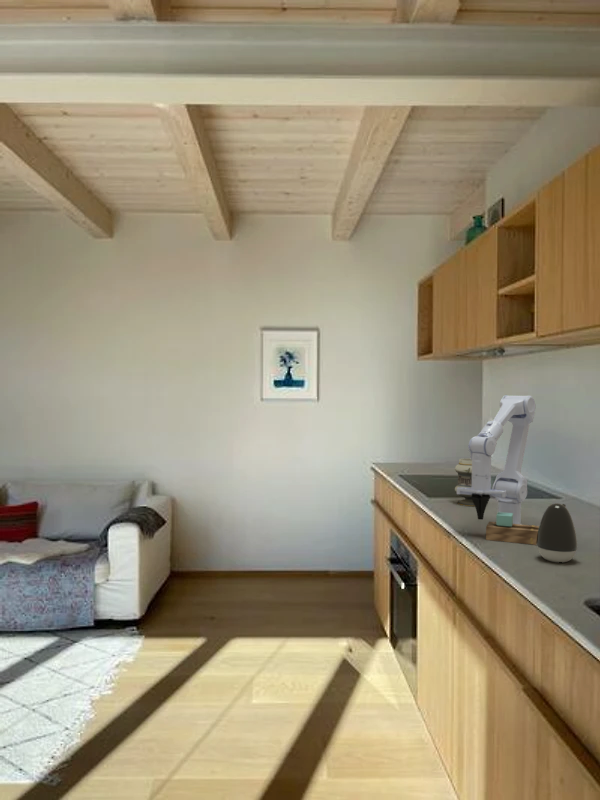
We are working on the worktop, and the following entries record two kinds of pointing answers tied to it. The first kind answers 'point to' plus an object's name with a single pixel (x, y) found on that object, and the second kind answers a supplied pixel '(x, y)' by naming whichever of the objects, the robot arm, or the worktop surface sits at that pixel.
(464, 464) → the apothecary jar
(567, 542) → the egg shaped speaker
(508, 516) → the block
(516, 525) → the slotted wooden block
